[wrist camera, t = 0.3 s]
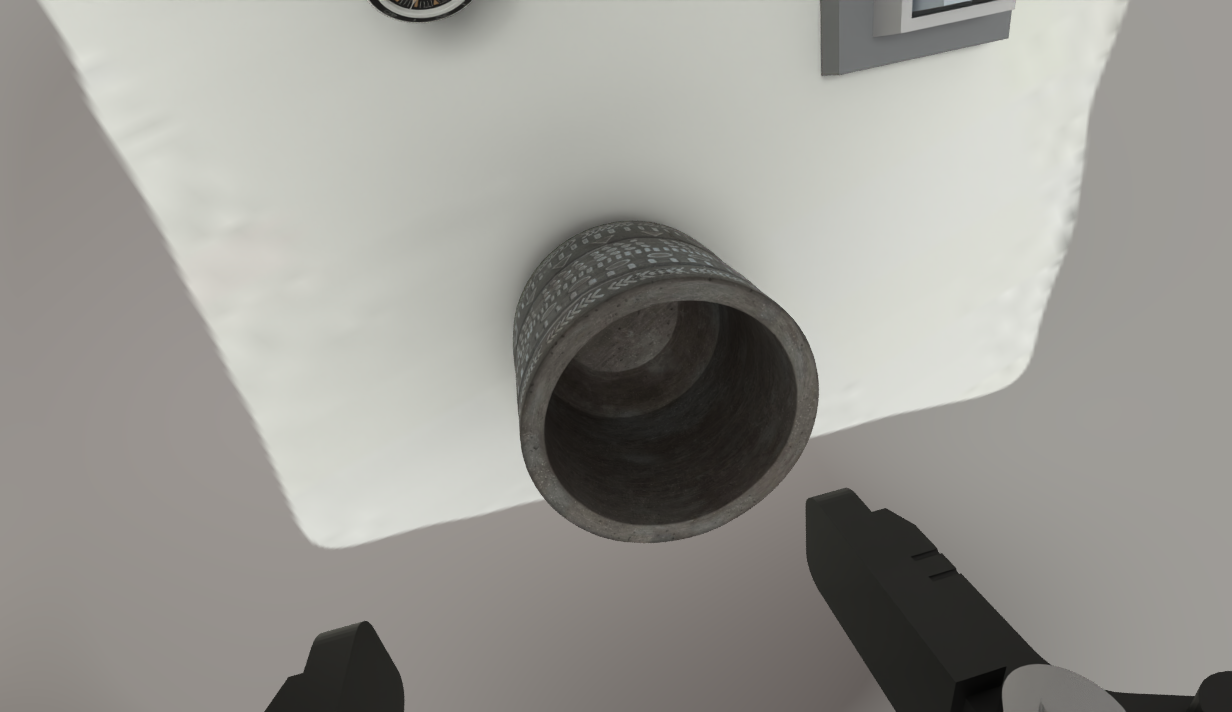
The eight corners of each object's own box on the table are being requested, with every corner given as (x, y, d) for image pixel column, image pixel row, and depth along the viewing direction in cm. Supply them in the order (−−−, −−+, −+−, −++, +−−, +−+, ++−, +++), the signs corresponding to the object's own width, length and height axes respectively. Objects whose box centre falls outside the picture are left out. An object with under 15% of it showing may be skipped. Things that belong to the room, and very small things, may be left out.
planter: (733, 357, 42) (841, 479, 29) (558, 428, 42) (586, 584, 29) (682, 173, 36) (792, 223, 22) (474, 256, 35) (460, 356, 22)
